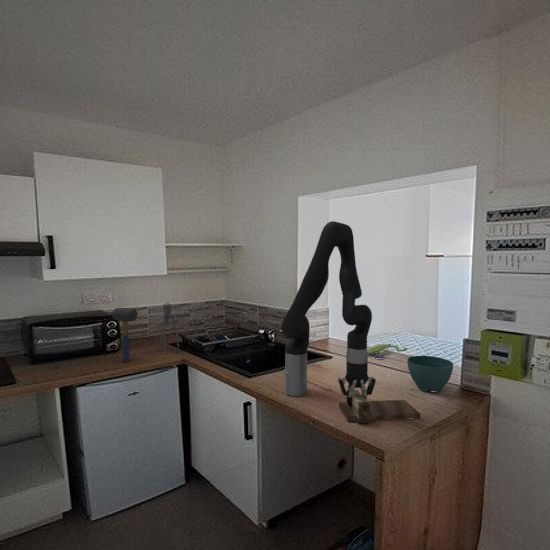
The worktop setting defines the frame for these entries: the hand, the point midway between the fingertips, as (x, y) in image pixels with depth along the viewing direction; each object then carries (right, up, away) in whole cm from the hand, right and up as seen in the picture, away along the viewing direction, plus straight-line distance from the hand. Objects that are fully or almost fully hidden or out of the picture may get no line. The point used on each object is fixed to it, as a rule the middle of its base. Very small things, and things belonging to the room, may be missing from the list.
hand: (356, 405), depth 130 cm
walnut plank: (+8, -3, +1) cm, 9 cm away
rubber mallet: (-113, 0, +69) cm, 132 cm away
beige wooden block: (0, -3, -1) cm, 3 cm away
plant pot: (+37, -2, +24) cm, 44 cm away
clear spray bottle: (-96, +1, +87) cm, 130 cm away
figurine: (+34, +1, +79) cm, 86 cm away
